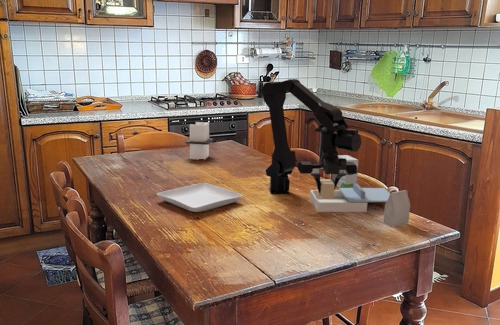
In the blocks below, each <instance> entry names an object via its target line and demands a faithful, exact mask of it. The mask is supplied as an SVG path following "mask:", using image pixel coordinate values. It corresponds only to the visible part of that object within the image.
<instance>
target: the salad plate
mask: <svg viewBox="0 0 500 325" xmlns="http://www.w3.org/2000/svg"><path fill="white" fill-rule="evenodd" d="M156 195H157V197H158V198H160V199H161V200H163V201H165V202H168V203H170V204H171V205H175V206H177V207H179V208H182V209H185V210H187V211H188V212H193V213H201V212H207V211H209V210H213V209H217V208H220V207H223V206H226V205H229V204H233V203H236V202H238V201H239V200H241V199H242V198H243V196H244V195H243V194H241V193H238V192H235V191H232V190H230V189H226V188H223V187H220V186H217V185H214V184H211V183H207V182H201V183H200V182H199V183H195V184H190V185H186V186H181V187H177V188H176V187H175V188H173V189H168V190H164V191H159V192H157V193H156Z"/></svg>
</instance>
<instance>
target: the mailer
mask: <svg viewBox="0 0 500 325" xmlns="http://www.w3.org/2000/svg"><path fill="white" fill-rule="evenodd" d="M309 199H310V201H311V203H312V205H313V207H314V208H315V210H316V211H317V213H367V212H368V202H349V201H348V200H347V199H346V197H345V196H344V195H343V194H342V192H341V191H340V190H339V189H335V190H334V199H321V197H320V196H319V194H318V189H310V190H309Z"/></svg>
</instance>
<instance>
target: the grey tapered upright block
mask: <svg viewBox="0 0 500 325" xmlns="http://www.w3.org/2000/svg"><path fill="white" fill-rule="evenodd" d="M389 193H390V196H389V198H388V200H387V202H385V204H384V213H383V221H382V222H383V224H385V225H387V226H389V227H392V228H395V227H398V226H403V225H407V224H409V220H410V210H411V202H410V199H409V195H408V190H407V189H405V190H399V191H394V192H389ZM406 223H407V224H406ZM402 224H403V225H402Z"/></svg>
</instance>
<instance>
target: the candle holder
mask: <svg viewBox="0 0 500 325" xmlns="http://www.w3.org/2000/svg"><path fill="white" fill-rule="evenodd" d="M213 141H214V138H211V137H210V122H208V121H207V122H204V121H201V122H200V121H195V124H192V123H191V124H190V123H189V138H188V139H187V140H185V144H187V145H189V159H190V160H199V159H204V160H203V161H205V160H206V159H208V157H210V156H209V155H210V151H209V149H210V147H209V144H211V143H212V142H213Z"/></svg>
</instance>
